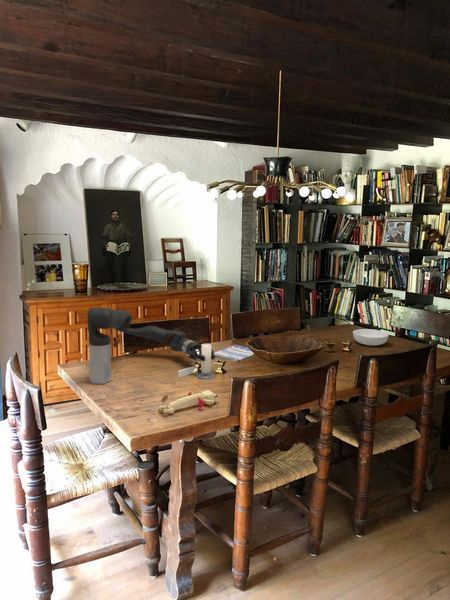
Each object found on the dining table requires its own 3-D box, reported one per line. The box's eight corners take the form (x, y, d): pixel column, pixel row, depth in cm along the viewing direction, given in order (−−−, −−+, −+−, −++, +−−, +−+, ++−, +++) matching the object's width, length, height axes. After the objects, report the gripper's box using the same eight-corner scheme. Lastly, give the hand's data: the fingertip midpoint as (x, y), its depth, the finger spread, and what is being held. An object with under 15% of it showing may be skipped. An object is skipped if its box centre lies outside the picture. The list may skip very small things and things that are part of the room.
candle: (210, 373, 227) (211, 344, 225) (200, 373, 227) (201, 344, 225) (211, 370, 232) (211, 342, 229) (201, 369, 232) (201, 341, 229)
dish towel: (210, 356, 263) (210, 351, 262) (235, 348, 281) (236, 343, 281) (236, 363, 253) (236, 358, 252) (261, 353, 271) (261, 349, 271)
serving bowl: (347, 339, 306) (347, 328, 305) (379, 339, 308) (380, 328, 307) (359, 348, 286) (360, 337, 284) (393, 348, 288) (394, 337, 287)
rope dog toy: (169, 422, 181) (223, 403, 195) (167, 400, 179) (222, 383, 194) (156, 413, 189) (209, 395, 203) (154, 392, 187) (208, 376, 201)
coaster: (215, 379, 225) (215, 378, 225) (195, 379, 225) (195, 377, 225) (215, 373, 234) (215, 372, 234) (196, 372, 234) (196, 371, 234)
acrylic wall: (208, 367, 242) (208, 362, 242) (179, 377, 227) (179, 371, 226) (207, 367, 243) (207, 361, 242) (178, 377, 227) (178, 370, 227)
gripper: (204, 354, 245) (222, 364, 230) (179, 358, 237) (195, 368, 223) (205, 340, 243) (222, 348, 229) (179, 343, 236) (195, 352, 222)
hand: (209, 358), depth 226 cm, fingers closed on candle, 4 cm apart
